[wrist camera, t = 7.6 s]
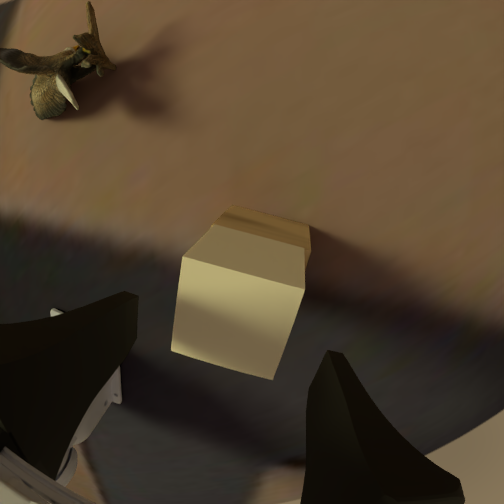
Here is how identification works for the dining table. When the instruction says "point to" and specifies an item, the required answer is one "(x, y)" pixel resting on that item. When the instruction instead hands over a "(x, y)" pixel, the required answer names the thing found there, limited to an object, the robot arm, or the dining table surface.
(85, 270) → the dining table surface
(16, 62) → the eagle figurine
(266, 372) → the cream block
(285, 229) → the oak base block
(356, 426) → the robot arm
